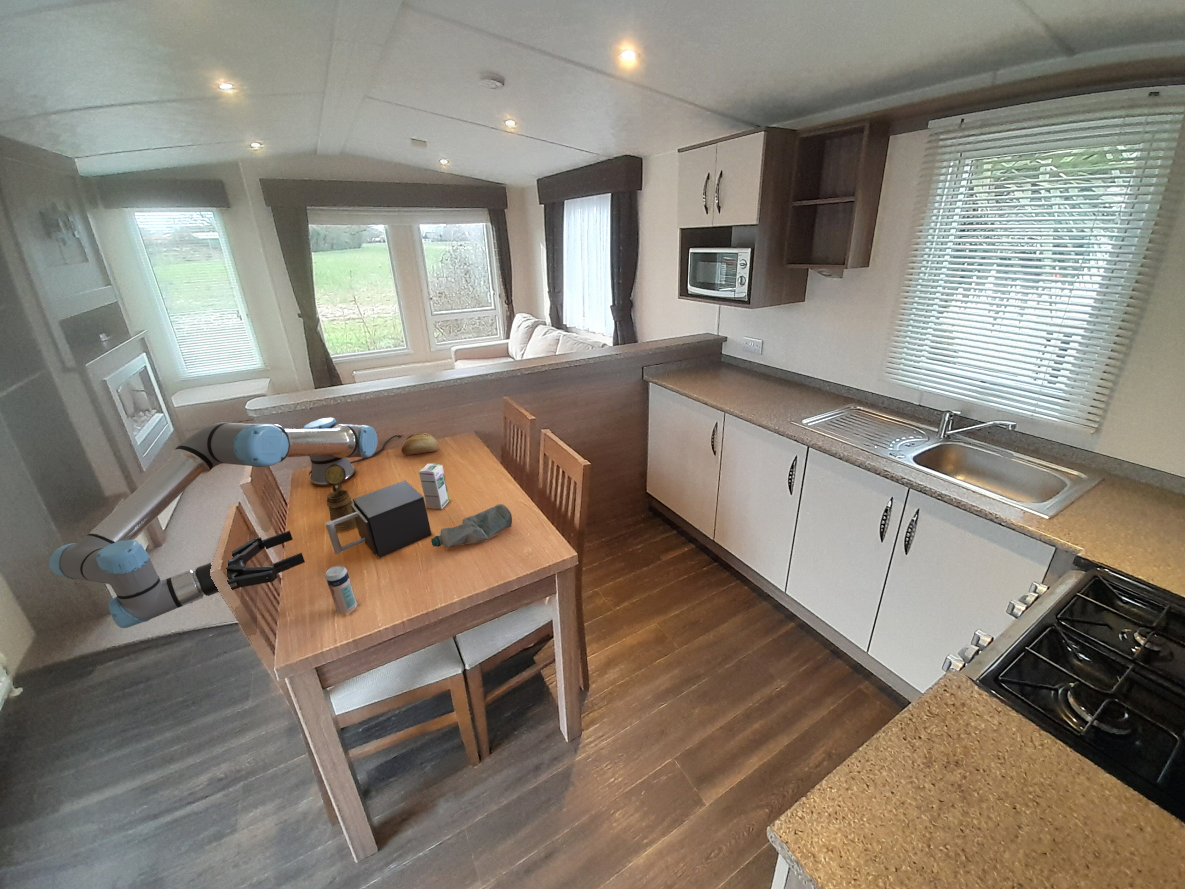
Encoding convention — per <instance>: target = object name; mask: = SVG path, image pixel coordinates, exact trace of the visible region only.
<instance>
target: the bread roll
mask: <svg viewBox="0 0 1185 889" xmlns="http://www.w3.org/2000/svg"><path fill="white" fill-rule="evenodd" d="M439 447H440V445H439V442H438V440H437V439H436V438H435V437H434V436H433V435H431V434H430V433H427V432H418V433H414V434H413V433H412V434H410V435H409V436H407V437H406V439H405V440H404V442H403V443H402V445H401V448H400V449H401V453H402V455H403V456H404V455H405V456H410V455H417V454H426V453H433V452H436V451H437V450H438V449H439Z"/></svg>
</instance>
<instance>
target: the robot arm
mask: <svg viewBox="0 0 1185 889" xmlns="http://www.w3.org/2000/svg"><path fill="white" fill-rule="evenodd" d="M337 422H338V421H337V420H336V418H334V417H324V418H320V419H319V418H318V419H317V420H313V421H311V422H309V423H307V424H305V425H304V426H303V427H302V428H301V429H300V428H298V429H296V428H293V429H292V428H284V427H283V426H281V425H279V424H274V423H241V422H229V421H228V422H226V421H225V422H223V421H222V422H217V423H212V424H209V425H207V426H204V427H203V428H201V429H199V430H198V431H196V432H194V433H193V434H191V435H190V436H188V437H187V438H186V439H185V440H183V441H182V442H180V444H178V445H177V447H175V448H174V449H173V450H172V451H171V457H170V459H169V460H167V461H166V462H165V463H164V464H163V465H162V466H161V467H160V468H159V469H157V470H156V471H155V472H154V473H153V474H152V475H151V476H149V478H148V479H146V481H144V482H143V483H142V484H141V485H140V486H139V487H138V488H137V489H136V490H134V491H133V493H131V494H130V495H129V496H128V497H127V498H126V499H125V500H124V501H122V503H120V504H119V505H118V506H117V507H116V508H115V509H114V510H113V511H111V512H110V514H109V515H107V516H106V517H105V518H104V519H103V520H102V521H101V522H100V523H99V524H97V525H96V526H95V527H94V528H93V529H92V530H91V531H90V532H89V533H88V534H87V535H86V536H84V537H83V538H82V539H81V540H80V541H79V542H74V543H67V544H64V545H62V546H59V547H58V548H57V549H56V550H54V551H53V553H52V554H51V556H50V558H49V561H48V567H49V569H50V570H51V572H52V573H53V574H54V575H57V576H58V577H59V576H60V577H62V578H63V577H64V578H66V579H71V580H80V581H89V582H94V583H100V584H104V585H105V584H106V585H109V586H110V587H111V589H112V591H113V592H114V593H115V596H116V597H113V598H111V599H110V600H109V602H108V610H109V613H110V615H111V618H112V621H113V622H114V624H115V625H116V626H117V627H119V628H121V629H128V628H131V627H134V626H136V625H139V624H142V623H147V622H149V621H150V620H152V619H155V618H157V617H159V616H162V615H164V614H167V613H169V612H171V611H175V610H176V609H180V608H182V607H184V606H187V605H189V604H193V603H195V602H196V601H199V600H202V599H203V598H204V596H206V597H210V596H212V595H215V594H218V593H219V591H218V589H217V587H216V586H215V584H214V582H213V580H212V579H211V576H210V569H211V566H212V563H213V562H212V561H211V562H208V563H206V564H203V565H200V566H198V567H196V568H195V570H193V569H189V570H186V571H184V572H181V573H178V574H176V575H172V576H171V577H168V578H167V577H166V578H165V579H162V580H161V578H160V576H159V574H158V572H157V570H156V568H155V566H154V564H153V562H152V559H151V558H150V554H149V553H148V552H147V550H146V549H145V548H144V546H143V545H142V543H141V542H139V541H138V540H136V539H137V538H138V537H139V536H140V535H141V534H142V533H143V532H144V531H145V530H146V529H147V528H148V527H149V526H150V525H151V524H152V523H153V522H154V521H156V519H157V518H158V517H159V516H160V515H161V514H162V513H163V512H164V511H165V510H166V509H167V508H168V507H169V506H170V505H171V504H172V503H173V502H175V501H176V499H177V498H178V497H179V496H180V495H181V494H182V493H183V492H185V490H186V489H187V488H189V487H190V485H191V484H192V483H193V482H195V480H196V479H197V478H198V477H199V476H200V475H206V474H208V473H210V472H211V470H212V469H214V468H215V467H217V466H219V465H222V464H225V465H226V464H227V465H237V466H247V467H248V466H249V467H255V468H267V467H272V466H275V465H277V464H280V463H281V462H283V461H284V460H286V459H287V458H298V457H300V458H301V457H309V460H310V463H311V468H310V471H309V473H308V476H310V481H311V484H312V485H313V486H314V487H319V488H327V487H328V488H329V487H332V485H331V484H329V483H327V481H326V479H325V471H326V470H327V468H328V467H329V466H331V465H332V464H333V463H334V464H337V465H340V466H341V467H343V468H344V470H345V473H346V477H345V479H344V481H343V482H342V483H341V484H343V483H346V482H348V481H349V480H351V479H352V478H354V477H355V475H356V473H357V472H356V468H355V467H354V465H353V464H355V463H358V462H361V461H363V460H366V459H369V458H371V457H374V456H376V455H377V454H379V453H381V452H382V451H384V448H385V446H386V444H387V443H388V442H390V441H391V440H392V439H394V438H396V437H398V438H401V437H402V435H400V434H395V435H393V436H390V437H389V438H388V439H387V440H385V441H384V443H383V444H382V446H381V448H380V449H379V450H378V451H376V450H377V448H378V442H379V441H378V434H377V432H376V430H375V428H374V427H373V426H370V425H367V424H361V425H359V424H347V423H346V424H343V423H337ZM397 435H398V436H397ZM349 458H359V459H355V460H352V461H350V460H349ZM293 540H294V538H293V535H292V533H291V530H287V531H284V532H281V533H278V534H276V535H272V536H270V537H267V538H265V539H262V536H261V537H260V536H259V537H254V538H252V539H251V540H249V541H247V542H246V543H244V544H242V545H241V546H238V547H237V548H235V549H234V550H232V551H231V552H232V556H233V558H232V559H231V560H228V567H227V568H226V569H227V577H228V579H229V580H227V582H228V584H229V585H230V587H231V589H232V591H234V590H237V589H240V588H244V587H245V588H246V587H251V586H257V585H262V584H269V583H273V582H275V581H276V579H278V574H280V573H282V572H285V571H289V570H290V569H292V568H294V567H297V566H300V565H302V564H304V563H306V560H305V558H304V555H303V553H302V552H300V553H296V554H294V555H292V556H289V557H286V558H284V559H282V560H279V561H276V562H274V563H272V565H271V566H250V567H249V566H247V563H248V562H249V561H251V560H252V559H253V558H254V557H256V556H257V555H258V554H259V553H261V551H263V550H264V549H265V550H269V549H272V548H274V547H276V546H279V545H283V544H285V543H288V542H290V541H293Z"/></svg>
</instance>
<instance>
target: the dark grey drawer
mask: <svg viewBox="0 0 1185 889" xmlns="http://www.w3.org/2000/svg"><path fill="white" fill-rule="evenodd" d="M351 508H352V511H353V513H352V514H349V515H347V516H344V517H341V518H339V519H336V520H333V521H331V520H328V521H326V522H325V527H326V531H327V534H328V537H329V540H330V542H331V546H332V549H333V552H334V554H335V555H340V554H341V553H342V552H344V551H347V550H349V549H351V548H353V547H357V546H359V545H362V544H365V545H366V547H367V548H368V549H369V550H370V551H371V553H372V554H373V555H374V556H377V549H376V545H375V542H374V538H373V534H372V531H371V527H370V523H369V520H368V518H367V517H366V516H365V515H364V514H361V512H360V511H359V510H358V509H357V508H356V506H355V505H354V503H353V504H351ZM352 518H355V522H356V525H357V526H356V528H357V532H358V535H359V537H360V538H359V539H357V540H355V541H352V542H349V543H346V544H345V545H341V541H340V538H339V534H338V531H336V528H335V525H336V524H339V523H341V522H344V521H347V520H349V519H352Z"/></svg>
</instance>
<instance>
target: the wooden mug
mask: <svg viewBox="0 0 1185 889" xmlns="http://www.w3.org/2000/svg"><path fill="white" fill-rule="evenodd" d="M345 477H346V473H345V470H344V468H343V467H341V466H340V465H337V464H334V463H333V464H332V465H331V466H329V467H328V468H327V470H326V471H325V479H326V481H327V483H329V484H331V485H332V486H331V487H332V492H330V493H328V494H327V495H326V506H327V507H328V511H329V518H330V520H329V521H333V520H336V519H339V518H341V517H344V516H347V515H349V514H352V513H353V511H352V508H351V504H354V502H353V499H352V496H351V495H350V493H349V491H348V490H345V489H343V488H342V484H343V483H342V482H343V481H344V479H345ZM335 528H336V532H345V531H349V530H352V529H354V528H357V525H356V522H355V518H352V519H349V520H347V521H344V522H341V523H339V524H336V525H335Z"/></svg>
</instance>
